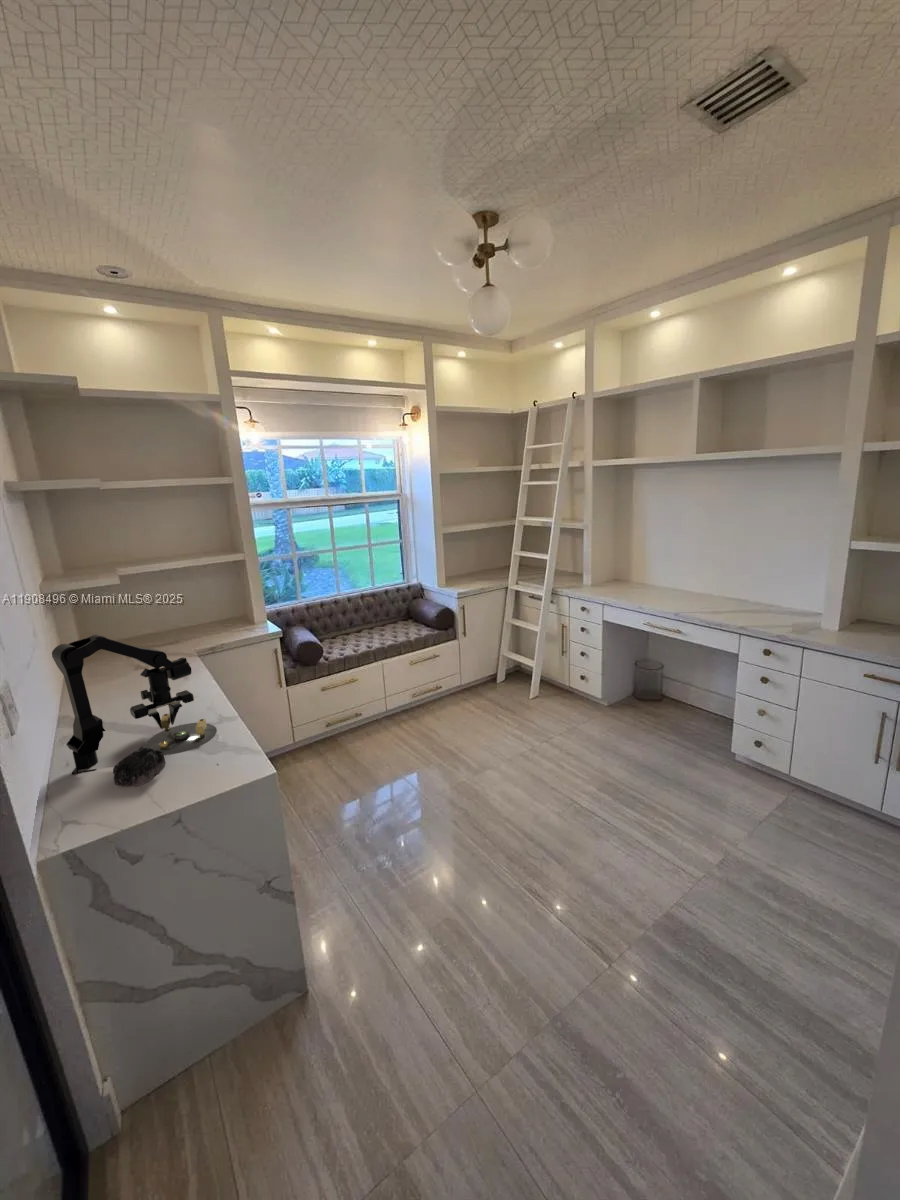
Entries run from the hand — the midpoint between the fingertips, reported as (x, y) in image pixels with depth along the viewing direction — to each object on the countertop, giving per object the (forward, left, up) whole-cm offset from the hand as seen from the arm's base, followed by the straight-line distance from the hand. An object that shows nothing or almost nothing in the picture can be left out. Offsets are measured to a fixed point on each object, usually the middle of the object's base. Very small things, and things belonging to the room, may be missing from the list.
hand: (166, 726), depth 176 cm
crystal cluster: (-27, +1, -3) cm, 27 cm away
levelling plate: (-7, -6, -3) cm, 10 cm away
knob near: (-9, -13, -2) cm, 16 cm away
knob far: (0, 0, -2) cm, 2 cm away
